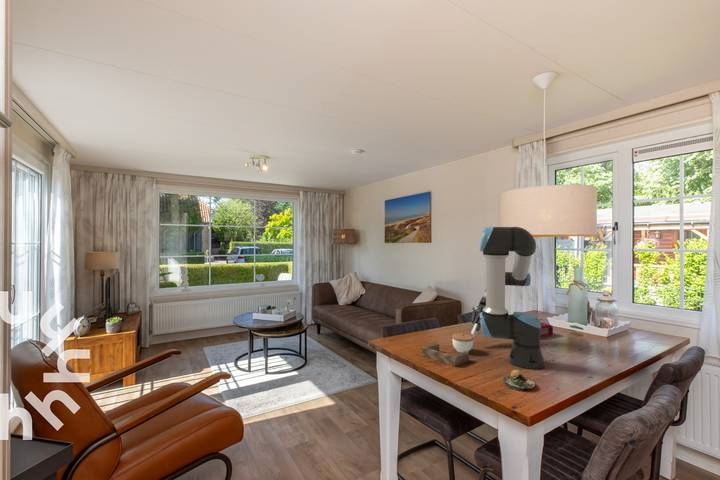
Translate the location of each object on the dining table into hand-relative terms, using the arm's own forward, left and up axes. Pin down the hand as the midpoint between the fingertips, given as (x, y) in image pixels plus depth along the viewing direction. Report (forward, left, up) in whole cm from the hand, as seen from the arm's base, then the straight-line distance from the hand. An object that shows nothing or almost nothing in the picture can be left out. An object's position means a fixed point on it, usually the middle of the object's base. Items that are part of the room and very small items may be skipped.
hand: (472, 334), depth 180 cm
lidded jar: (0, +11, -7) cm, 13 cm away
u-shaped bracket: (0, +28, -6) cm, 29 cm away
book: (-4, -52, -7) cm, 53 cm away
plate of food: (-37, +30, -7) cm, 48 cm away
